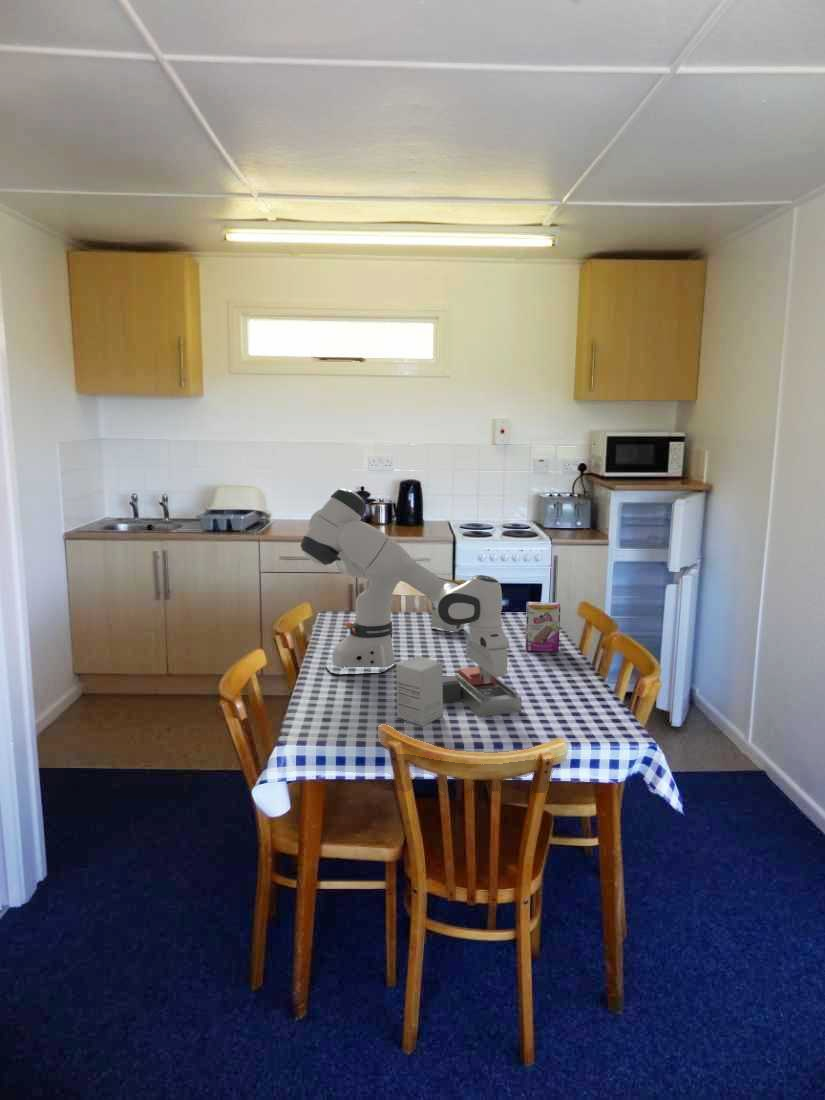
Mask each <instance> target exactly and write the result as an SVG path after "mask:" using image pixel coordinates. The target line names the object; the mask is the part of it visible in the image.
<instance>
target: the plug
mask: <svg viewBox="0 0 825 1100" xmlns="http://www.w3.org/2000/svg"><path fill="white" fill-rule="evenodd" d="M461 701H462V700H461V684H460V683H459V680H458V679H457V678H455V675H448V676H447V675H446V676H443V704H448V703H447V702H449V703H454V702H455V703H456V702H457V703H458V702H461Z"/></svg>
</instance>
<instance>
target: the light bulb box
mask: <svg viewBox="0 0 825 1100" xmlns="http://www.w3.org/2000/svg"><path fill="white" fill-rule="evenodd" d="M430 602H431V601H430ZM430 608H431V610H430V611H431V628H432V627H437V628H441V629H445V630H448V631H453V632H457V631H459V630H461V629H463V628H464V629H465V626H464V625H465V624H461V625H449V624H447V623H445V622H444V621H443V620H442V619H441V618H440V616H439V614H438V612H437V610H436V609H435V607H434V606H433V604H432V602H431V607H430ZM461 631H462V630H461ZM459 632H460V631H459ZM457 633H458V632H457Z"/></svg>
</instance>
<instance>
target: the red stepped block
mask: <svg viewBox="0 0 825 1100" xmlns="http://www.w3.org/2000/svg"><path fill="white" fill-rule="evenodd" d="M458 674H459V675H460V676H462V677H463V678H464V679H465V680H466V681H468V682H469V683H470V684H471V685H480V684H485V683H484V682H482V681H481V680H480V672H479V669H478V666H473V667H464V668H459V669H458ZM490 683H495V677H493V676H492V675H491V677H490Z"/></svg>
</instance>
